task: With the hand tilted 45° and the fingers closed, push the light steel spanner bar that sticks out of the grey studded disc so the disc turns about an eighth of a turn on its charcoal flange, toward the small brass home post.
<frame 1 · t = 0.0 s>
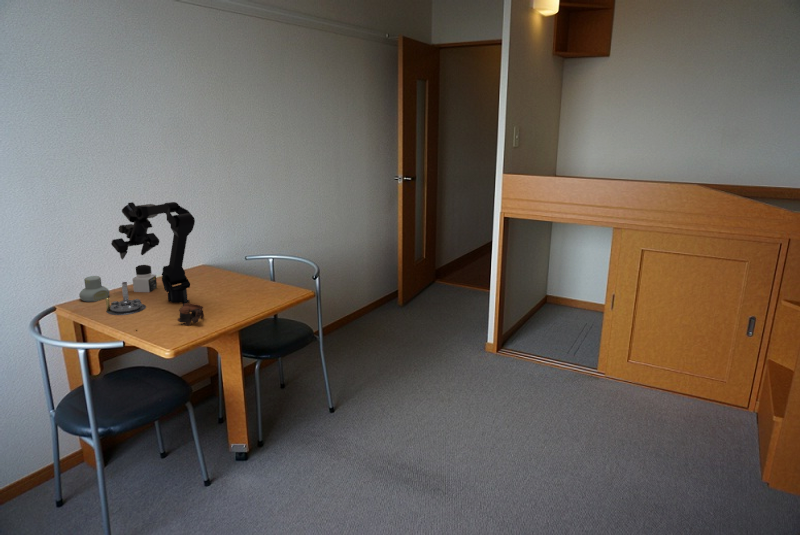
hand: (131, 256, 242), 15 cm above the table, tool tilted 35°, fingers open, 9 cm apart
air freshener: (95, 301, 230), on the table
grey studded disc: (125, 297, 218), point 6 cm above the table, hinge at 0.0°
medicine bottle: (145, 292, 242), on the table
flange: (126, 311, 218), on the table
pottery mug: (192, 322, 209), on the table
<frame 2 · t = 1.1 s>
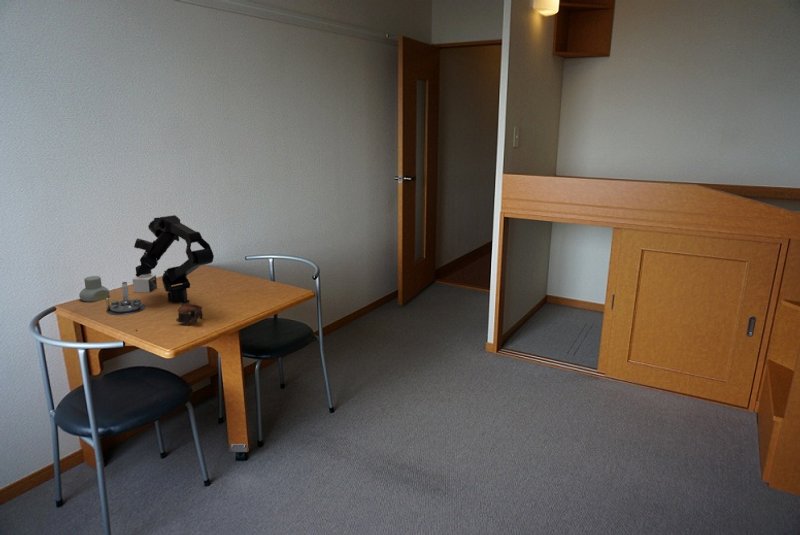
hand: (138, 273, 224), 13 cm above the table, tool tilted 40°, fingers open, 9 cm apart
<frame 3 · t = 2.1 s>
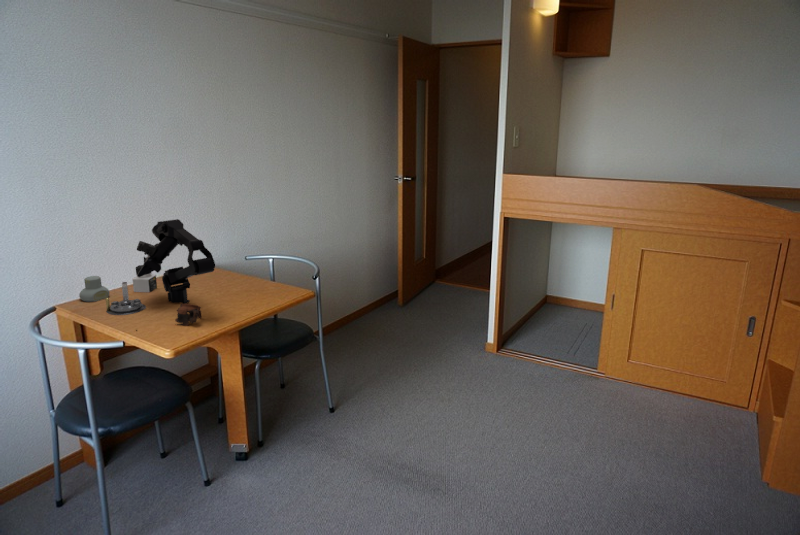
hand: (138, 276, 222), 13 cm above the table, tool tilted 45°, fingers closed
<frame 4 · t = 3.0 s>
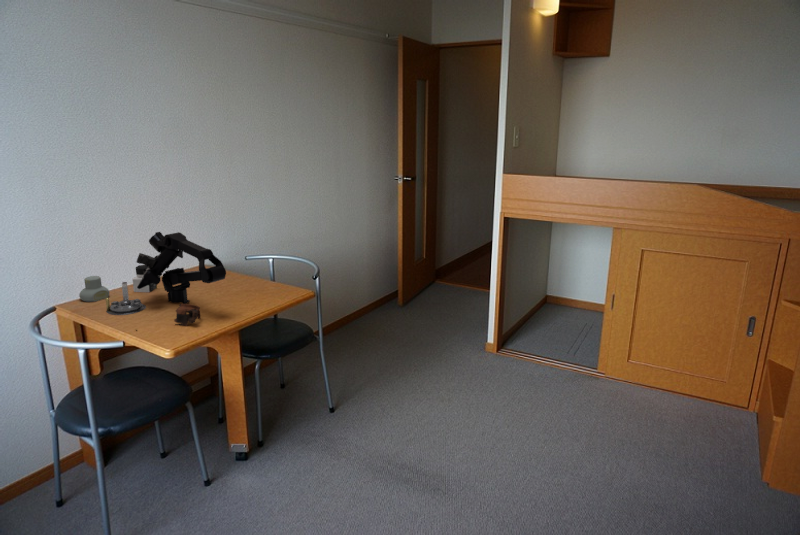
hand: (138, 288, 223), 7 cm above the table, tool tilted 45°, fingers closed
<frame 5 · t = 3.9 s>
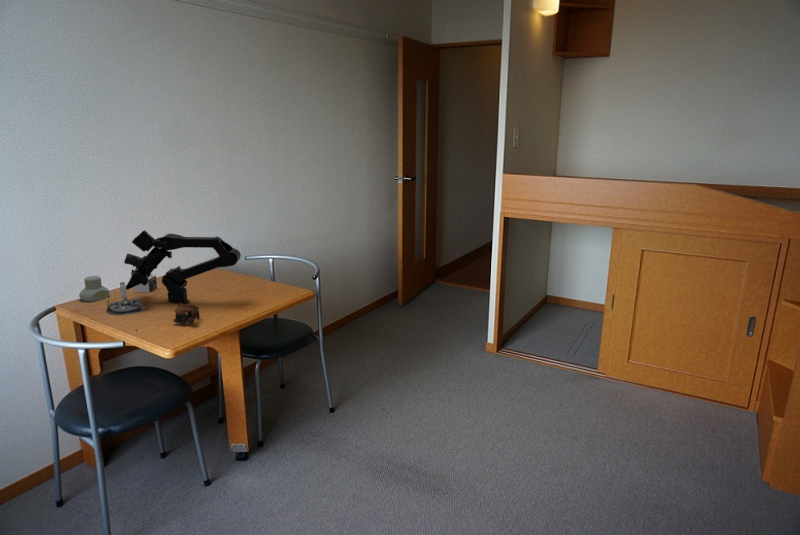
hand: (126, 288, 221), 8 cm above the table, tool tilted 45°, fingers closed, pressing on grey studded disc
grey studded disc: (124, 297, 218), point 6 cm above the table, hinge at 5.8°, touching gripper
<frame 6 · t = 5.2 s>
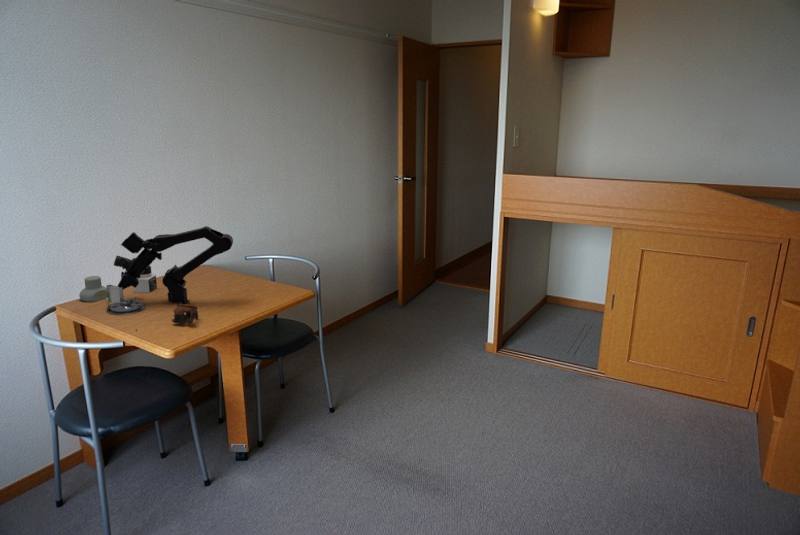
hand: (116, 291, 220), 7 cm above the table, tool tilted 45°, fingers closed
grey studded disc: (122, 297, 217), point 6 cm above the table, hinge at 40.8°, touching gripper
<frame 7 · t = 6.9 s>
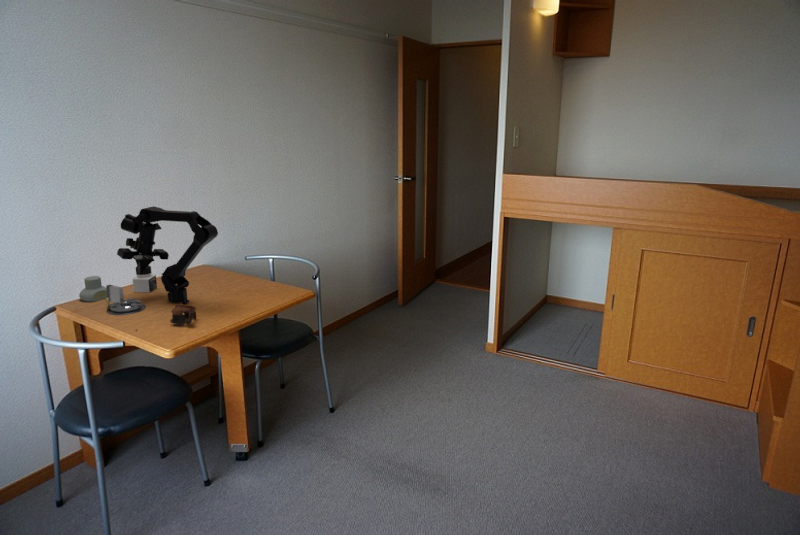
hand: (140, 273, 227), 12 cm above the table, tool pointing down, fingers closed
grey studded disc: (122, 297, 217), point 6 cm above the table, hinge at 40.9°
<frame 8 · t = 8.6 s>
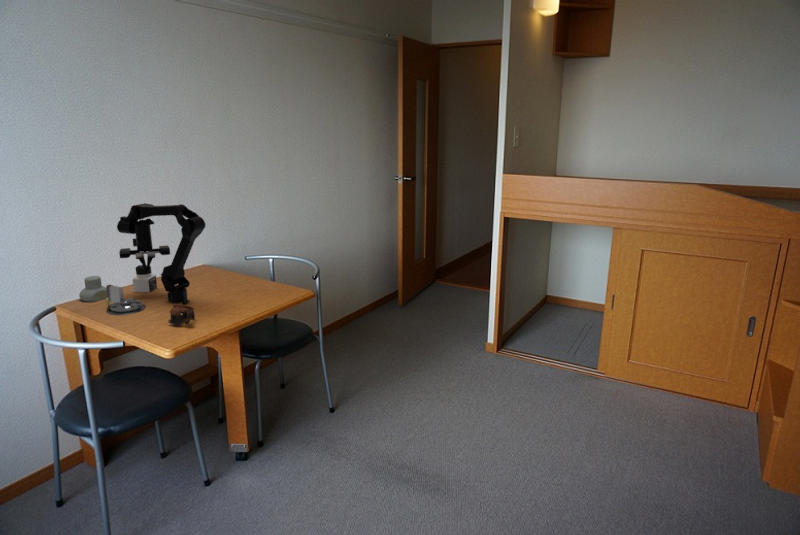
hand: (147, 271, 230), 12 cm above the table, tool pointing down, fingers closed
at the end: grey studded disc at +41° (first picture: +0°) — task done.
